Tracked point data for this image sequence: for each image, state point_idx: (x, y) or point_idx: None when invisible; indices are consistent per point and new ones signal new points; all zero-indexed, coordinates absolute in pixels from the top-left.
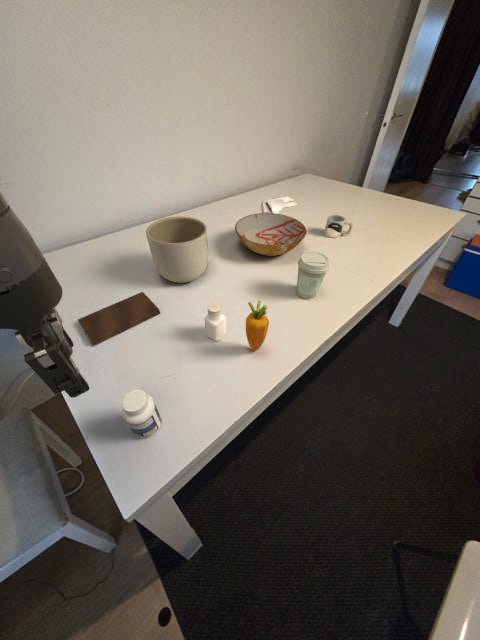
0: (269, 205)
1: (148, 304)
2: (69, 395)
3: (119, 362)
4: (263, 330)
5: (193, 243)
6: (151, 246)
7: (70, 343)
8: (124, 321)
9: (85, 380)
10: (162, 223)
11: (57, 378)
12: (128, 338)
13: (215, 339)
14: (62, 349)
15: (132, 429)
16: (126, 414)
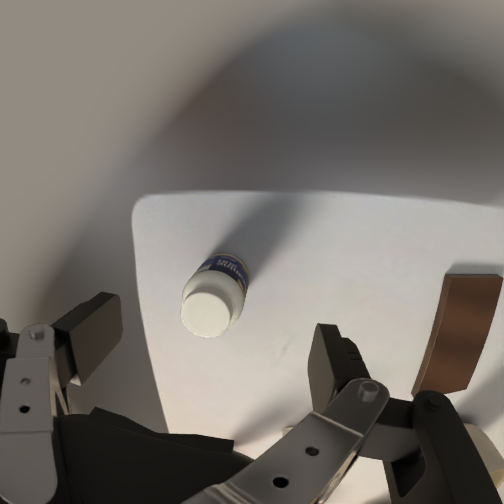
0: None
1: (438, 388)
2: (98, 295)
3: (380, 296)
4: None
5: None
6: (486, 461)
7: (309, 372)
8: (443, 344)
9: (110, 351)
10: (497, 481)
11: (5, 356)
12: (412, 330)
13: (285, 431)
14: (314, 339)
15: (207, 263)
16: (206, 282)
